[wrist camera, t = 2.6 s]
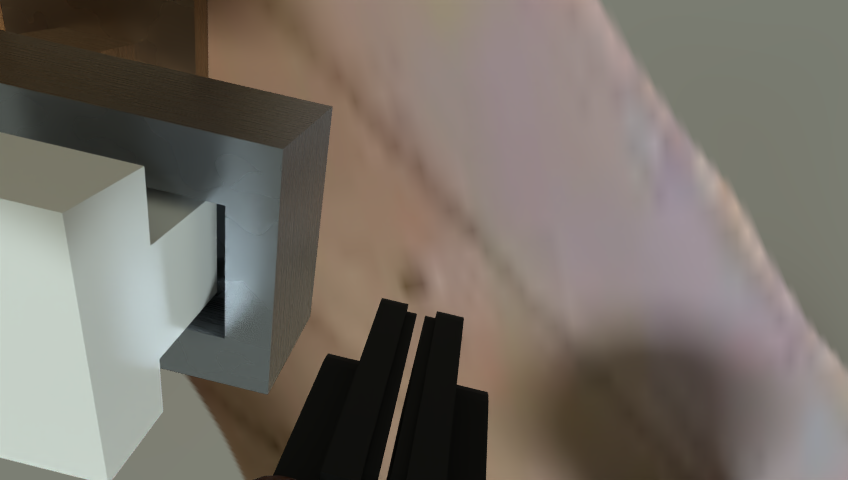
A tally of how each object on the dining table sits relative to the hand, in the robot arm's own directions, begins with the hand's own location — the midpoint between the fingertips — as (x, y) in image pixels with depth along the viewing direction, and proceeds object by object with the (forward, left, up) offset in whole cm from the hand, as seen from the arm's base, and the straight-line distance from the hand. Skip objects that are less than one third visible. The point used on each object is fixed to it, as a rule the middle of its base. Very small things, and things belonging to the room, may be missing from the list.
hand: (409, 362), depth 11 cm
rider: (+5, +6, -3) cm, 8 cm away
